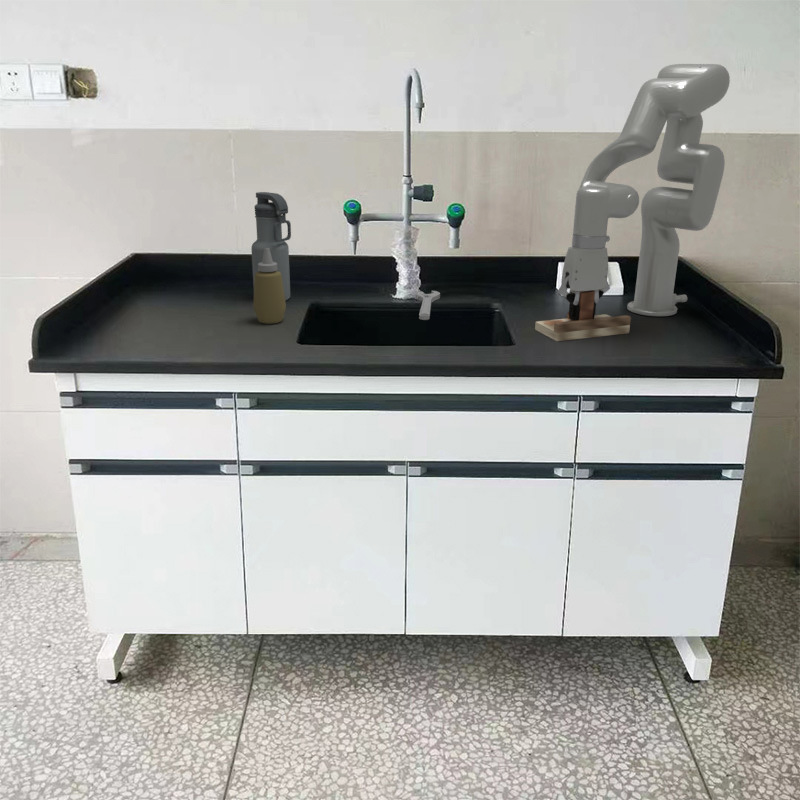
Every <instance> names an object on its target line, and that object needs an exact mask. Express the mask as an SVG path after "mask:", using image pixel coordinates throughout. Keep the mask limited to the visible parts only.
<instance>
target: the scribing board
mask: <svg viewBox="0 0 800 800" xmlns="http://www.w3.org/2000/svg"><path fill="white" fill-rule="evenodd" d="M631 321H632V317H631V316H630V315H627V314H625V315H616V316H611V315H609V314H597V315H596V314H595V316H594V319H587V320H577V321H571V320H569V319H567V317H566V318H559V319H558V318H556V319H550V320H549V319H546V320H538V321H535V326H534V330H535V331H537V332H539V333H540V334H542V335H544V336H546V337H547V338H550V339H552V340H553V341H555V342H565V341H572V340H573V341H574V340H581V339H589V338H591V339H592V338H599V337H606V336H615V335H623V334H624V335H626V334H629V333H630V328H631Z"/></svg>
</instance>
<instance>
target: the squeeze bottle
mask: <svg viewBox="0 0 800 800" xmlns="http://www.w3.org/2000/svg"><path fill="white" fill-rule="evenodd" d="M252 308H253V312H254V313H255V316H256V318H257V321H258V322H259V323H262V324H268V325H269V324H270V325H271V324H277V323H281V322H282V321H283V319H284V315H285V311H286V309H287V303H286V301H285V296H284V289H283V282H282V275H281V273H280V272H279V271H277V263H276V262H273V261H272V257H271V253H270V249H269V248H264V254H263V260H262V262H261V263H258V272H257V273H256V274H255V281H254V286H253V305H252Z"/></svg>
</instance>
